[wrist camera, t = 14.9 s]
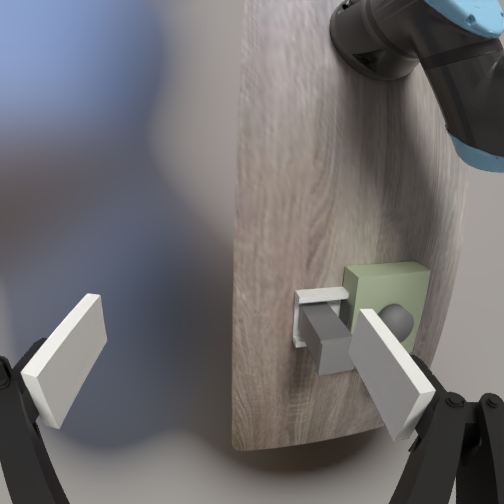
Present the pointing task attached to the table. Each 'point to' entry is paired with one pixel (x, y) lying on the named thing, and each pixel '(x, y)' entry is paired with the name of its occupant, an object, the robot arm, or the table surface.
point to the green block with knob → (375, 298)
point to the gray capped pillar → (325, 338)
